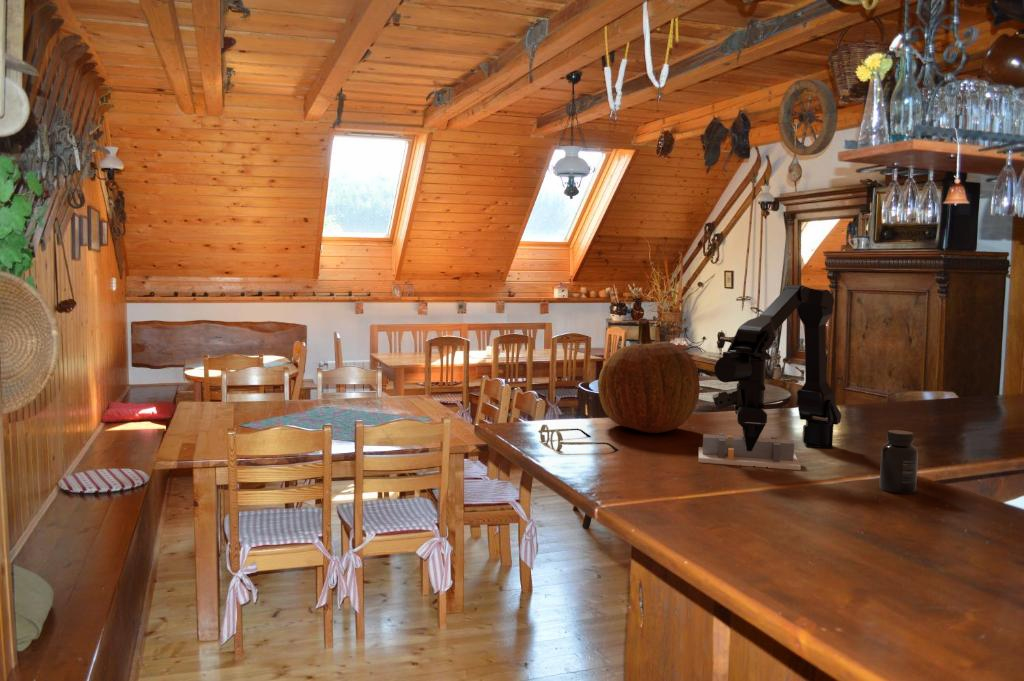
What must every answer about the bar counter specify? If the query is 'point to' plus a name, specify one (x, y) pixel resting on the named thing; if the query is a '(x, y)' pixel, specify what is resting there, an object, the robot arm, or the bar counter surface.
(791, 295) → the robot arm
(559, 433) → the eyeglasses
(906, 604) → the bar counter surface
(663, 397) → the pumpkin
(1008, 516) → the bar counter surface
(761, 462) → the collar stand
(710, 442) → the grey square bar
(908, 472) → the supplement bottle
